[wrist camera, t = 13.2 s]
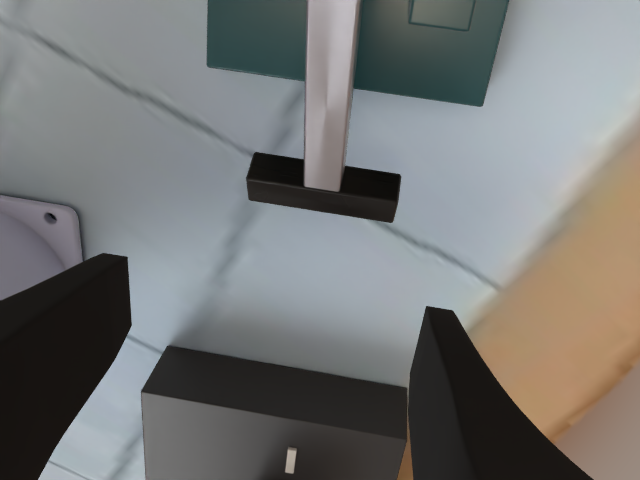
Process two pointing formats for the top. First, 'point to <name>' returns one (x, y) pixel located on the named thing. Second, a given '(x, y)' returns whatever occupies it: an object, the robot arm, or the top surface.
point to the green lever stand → (369, 44)
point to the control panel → (267, 422)
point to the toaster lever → (326, 130)
